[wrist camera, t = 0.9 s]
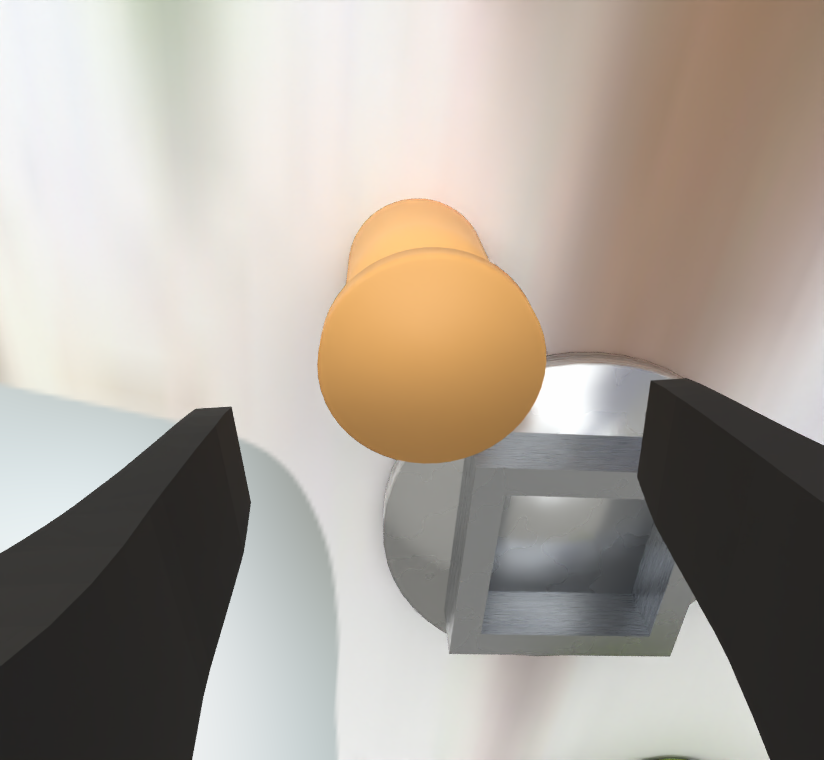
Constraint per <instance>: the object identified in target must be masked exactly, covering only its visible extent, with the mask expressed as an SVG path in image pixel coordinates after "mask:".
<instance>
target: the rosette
mask: <svg viewBox="0 0 824 760" xmlns="http://www.w3.org/2000/svg"><path fill="white" fill-rule="evenodd" d="M681 378H682V377H681V376H679V375H677V374H675V373H674V372H672V371H670V370H668V369H666V368H663V367H661V366H658V365H656V364H653V363H651V362H648V361H645V360H641V359H637V358H633V357H628V356H624V355H617V354H608V353H599V352H579V353H564V354H556V355H549V356H546V369H545V376H544V380H543V384H542V388H541V390H540V392H539V395H538V397H537V400H536V401H535V403H534V405H533V407H532V408H531V410H530V412H529V413H528V414H527V416H526V417H525V418H524V419H523V421H522V422H521V423H520V424H519V425H518V426H517V427H516V428H515V429H514V430H513V431H512V432H511V433H510V434H509V435H507V436H506V437H505V438H504V439H502V440H501V441H500V442H498V443H496V444H495V445H493V446H492V447H490V448H488V449H486V450H484V451H482V452H480V453H478V454H475V455H472V456H469V457H467V458H463V459H459V460H455V461H451V462H443V463H426V464H423V463H411V462H405V461H400V460H396V462H395V464H394V466H393V468H392V471H391V474H390V477H389V480H388V483H387V486H386V491H385V498H384V504H383V530H384V548H385V553H386V559H387V563H388V566H389V568H390V571H391V574H392V576H393V579H394V581H395V582H396V584H397V586H398V588H399V589H400V591H401V593H402V594H403V596H404V597H405V598H406V599H407V601H408V602H409V603H410V604H411V606H412V607H413V608H414V609H415V610H416V611H417V612H418V613H419V614H421V615H422V616H423V617H424V618H425V619H426V620H427V621H429V622H430V623H431V624H433V625H434V626H436V627H437V628H439V629H440V630H442V631H443V632H445V633H447V640H448V648H449V654H512V655H528V656H554V655H594V656H670V655H671V652H672V650H673V647H674V644H675V641H676V639H677V636H678V633H679V631H680V628H681V625H682V623H683V620H684V617H685V615H686V612H687V609H688V607H689V605H690V604H691V603H692V602H694V601H695V600H696V598H695V596H694V595H693V593H692V591H691V589H690V588H689V586H688V584H687V582H686V580H685V579H684V577H683V575H682V573H681V572H680V570H679V568H678V566H677V564H676V563H675V561H674V559H673V557H672V555H671V554H670V552H669V550H668V548H667V546H666V545H665V543H664V541H663V539H662V537H661V535H660V533H659V532H658V530H657V528H656V526H655V524H654V521H653V519H652V516H651V514H650V511H649V509H648V506H647V504H646V501H645V498H644V495H643V493H642V490H641V487H640V484H639V481H638V479H637V473H638V466H639V459H640V452H641V445H642V438H643V431H644V423H645V416H646V409H647V402H648V395H649V388H650V381H651V380H665V379H681Z"/></svg>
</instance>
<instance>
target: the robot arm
mask: <svg viewBox="0 0 824 760" xmlns="http://www.w3.org/2000/svg"><path fill="white" fill-rule="evenodd" d="M637 479H638V481H639V484H640V487H641V490H642V493H643V495H644V498H645V501H646V504H647V506H648V509H649V511H650V514H651V516H652V519H653V521H654V524H655V526H656V528H657V530H658V532H659V533H660V535H661V537H662V539H663V541H664V543H665V545H666V546H667V548H668V550H669V552H670V554H671V555H672V557H673V559H674V561H675V563H676V564H677V566H678V568H679V570H680V572H681V573H682V575H683V577H684V579H685V580H686V582H687V584H688V586H689V588H690V589H691V591H692V593H693V595H694V596H695V598H696V600H697V602H698V604H699V605H700V607H701V609H702V611H703V612H704V614H705V616H706V618H707V620H708V621H709V623H710V625H711V627H712V628H713V630H714V632H715V634H716V636H717V638H718V640H719V642H720V644H721V646H722V648H723V650H724V652H725V654H726V656H727V657H728V660H729V662H730V664H731V666H732V669H733V671H734V673H735V676H736V678H737V680H738V683H739V685H740V687H741V690H742V692H743V694H744V697H745V699H746V701H747V704H748V706H749V708H750V711H751V713H752V715H753V718H754V720H755V723H756V725H757V728H758V730H759V733H760V735H761V738H762V740H763V743H764V745H765V748H766V751H767V753H768V756H769V758H770V760H824V445H822V444H819V443H817V442H815V441H813V440H811V439H809V438H807V437H805V436H803V435H801V434H799V433H796V432H794V431H792V430H790V429H788V428H786V427H784V426H782V425H780V424H778V423H776V422H775V421H773V420H771V419H769V418H767V417H765V416H763V415H761V414H759V413H757V412H755V411H753V410H751V409H749V408H747V407H745V406H743V405H742V404H740V403H738V402H736V401H734V400H732V399H730V398H728V397H726V396H724V395H722V394H720V393H718V392H716V391H714V390H712V389H710V388H708V387H706V386H704V385H701V384H699V383H697V382H694V381H692V380H689V379H687V378H681V379H665V380H651V381H650V388H649V395H648V402H647V409H646V416H645V423H644V431H643V438H642V445H641V452H640V459H639V466H638V473H637ZM250 504H251V501H250V496H249V491H248V486H247V481H246V476H245V471H244V466H243V462H242V456H241V452H240V447H239V441H238V437H237V432H236V427H235V422H234V417H233V412H232V407H218V408H202V409H195V410H193V411H192V412H191V413H189V414H188V415H187V416H185V417H184V418H183V419H182V420H180V421H179V422H178V423H177V424H176V425H174V426H173V427H172V428H171V429H170V430H168V431H167V432H166V433H165V434H164V435H163V436H162V437H160V438H159V439H158V440H157V441H156V442H154V443H153V444H152V445H151V446H150V447H149V448H147V449H146V450H145V451H144V452H142V453H141V454H140V455H139V456H138V457H136V458H135V459H134V460H133V461H132V462H130V463H129V464H128V465H127V466H126V467H125V468H123V469H122V470H121V471H119V472H118V473H117V474H115V475H114V476H113V477H112V478H110V479H109V480H108V481H106V482H105V483H104V484H102V485H101V486H100V487H98V488H97V489H96V490H94V491H93V492H92V493H91V494H89V495H88V496H87V497H85V498H84V499H83V500H81V501H80V502H79V503H77V504H76V505H75V506H73V507H72V508H70V509H69V510H68V511H66V512H65V513H63V514H62V515H60V516H59V517H57V518H56V519H54V520H53V521H51V522H50V523H48V524H47V525H45V526H44V527H42V528H41V529H39V530H38V531H36V532H34V533H33V534H31V535H30V536H28V537H26V538H25V539H23V540H22V541H20V542H18V543H17V544H15V545H14V546H12V547H10V548H9V549H7V550H5V551H3V552H2V553H0V760H192V756H193V751H194V746H195V740H196V735H197V729H198V724H199V718H200V713H201V707H202V701H203V696H204V692H205V688H206V684H207V680H208V675H209V671H210V667H211V664H212V661H213V657H214V654H215V650H216V647H217V644H218V640H219V637H220V633H221V630H222V627H223V623H224V620H225V616H226V612H227V609H228V606H229V603H230V599H231V596H232V592H233V589H234V585H235V582H236V578H237V574H238V571H239V568H240V564H241V560H242V556H243V553H244V547H245V540H246V534H247V526H248V520H249V512H250Z"/></svg>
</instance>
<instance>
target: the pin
mask: <svg viewBox="0 0 824 760" xmlns="http://www.w3.org/2000/svg"><path fill="white" fill-rule="evenodd" d="M317 365H318V379H319V383H320V388H321V392H322V395H323V397H324V400H325V403H326V405H327V406H328V408H329V410H330V412H331V414H332V415H333V417H334V418H335V419H336V421H337V422H338V423H339V425H340V426H341V427H342V428H343V429H344V430H345V431H346V432H347V433H348V434H349V435H350V436H351V437H353V438H354V439H355V440H356V441H358V442H359V443H360V444H362V445H364V446H365V447H367V448H369V449H370V450H372V451H374V452H377V453H379V454H381V455H383V456H386V457H389V458H393V459H396V460H400V461H405V462H411V463H423V464H426V463H443V462H451V461H455V460H459V459H463V458H467V457H469V456H472V455H475V454H478V453H480V452H482V451H484V450H486V449H488V448H490V447H492V446H493V445H495V444H496V443H498V442H500V441H501V440H502V439H504V438H505V437H506V436H507V435H509V434H510V433H511V432H512V431H513V430H514V429H515V428H516V427H517V426H518V425H519V424H520V423H521V422H522V421H523V419H524V418H525V417H526V416H527V414H528V413H529V412H530V410H531V408H532V407H533V405H534V403H535V401H536V400H537V397H538V395H539V392H540V390H541V388H542V384H543V380H544V376H545V369H546V346H545V340H544V335H543V332H542V329H541V326H540V323H539V321H538V319H537V317H536V315H535V313H534V311H533V309H532V307H531V305H530V304H529V302H528V300H527V298H526V296H525V294H524V293H523V292H522V290H521V289H520V288H519V286H518V285H517V284H516V283H515V282H514V281H513V279H512V278H511V277H510V276H509V275H508V274H506V273H505V272H504V271H503V270H501V269H500V268H499V267H497V266H496V265H494V264H493V263H491V262H489V259H488V257H487V255H486V253H485V251H484V248H483V246H482V244H481V242H480V240H479V238H478V236H477V234H476V232H475V230H474V228H473V227H472V226H471V224H470V223H469V222H468V221H467V220H466V219H465V218H464V216H462V215H461V214H460V213H459V212H457V211H456V210H454V209H453V208H451V207H449V206H447V205H445V204H443V203H440V202H437V201H433V200H428V199H407V200H401V201H398V202H394V203H392V204H389V205H387V206H385V207H383V208H382V209H380V210H378V211H377V212H376V213H374V214H373V215H372V216H370V218H369V219H368V220H367V221H366V222H365V223H364V224H363V225H362V227H361V228H360V229H359V231H358V233H357V234H356V236H355V238H354V241H353V243H352V246H351V250H350V254H349V263H348V271H347V280H346V285H345V286H344V288H343V289H342V290H341V292H340V293H339V294H338V295H337V297H336V298H335V300H334V302H333V304H332V306H331V307H330V309H329V312H328V314H327V317H326V319H325V322H324V326H323V330H322V335H321V340H320V346H319V352H318V364H317Z"/></svg>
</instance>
